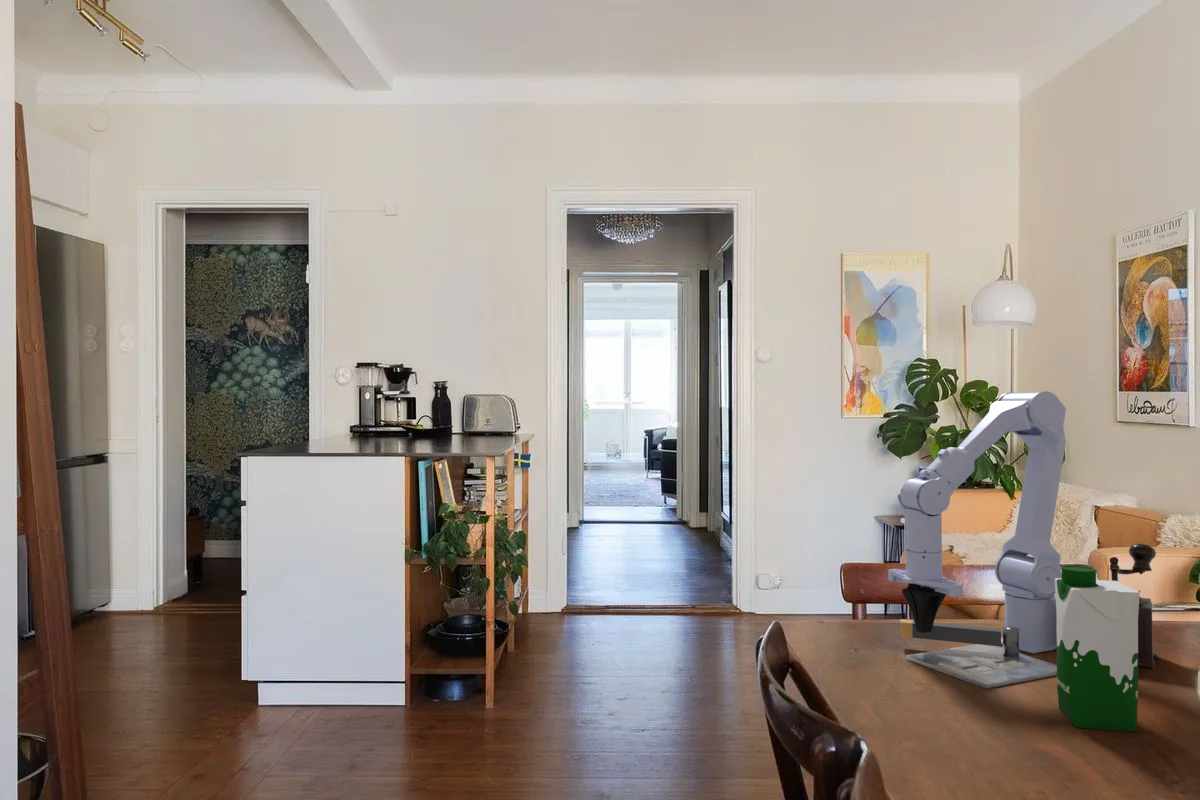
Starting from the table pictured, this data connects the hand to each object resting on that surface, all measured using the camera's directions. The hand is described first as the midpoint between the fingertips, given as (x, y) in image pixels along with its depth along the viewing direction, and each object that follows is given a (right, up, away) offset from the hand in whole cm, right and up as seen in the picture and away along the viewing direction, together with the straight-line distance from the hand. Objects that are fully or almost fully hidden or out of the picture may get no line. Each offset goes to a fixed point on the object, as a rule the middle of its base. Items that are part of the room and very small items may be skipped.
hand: (924, 631), depth 142 cm
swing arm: (+5, -2, +1) cm, 5 cm away
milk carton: (+11, -4, -30) cm, 32 cm away
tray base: (+7, -4, -7) cm, 11 cm away
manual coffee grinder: (+33, -4, 0) cm, 33 cm away
